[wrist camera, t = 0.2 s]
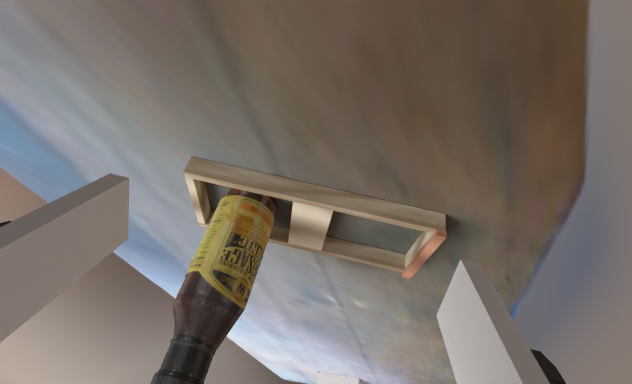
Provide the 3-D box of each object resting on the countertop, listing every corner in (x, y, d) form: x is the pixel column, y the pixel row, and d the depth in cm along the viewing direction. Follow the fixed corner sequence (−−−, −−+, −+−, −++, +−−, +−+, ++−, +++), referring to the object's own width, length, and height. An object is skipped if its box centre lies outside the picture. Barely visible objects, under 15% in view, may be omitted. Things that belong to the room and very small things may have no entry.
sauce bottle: (288, 212, 41) (232, 414, 30) (245, 217, 44) (178, 403, 33) (256, 176, 37) (176, 397, 25) (210, 184, 40) (119, 386, 28)
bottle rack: (191, 156, 36) (181, 176, 35) (446, 214, 36) (446, 237, 34) (205, 212, 45) (197, 230, 43) (410, 258, 45) (409, 278, 43)
